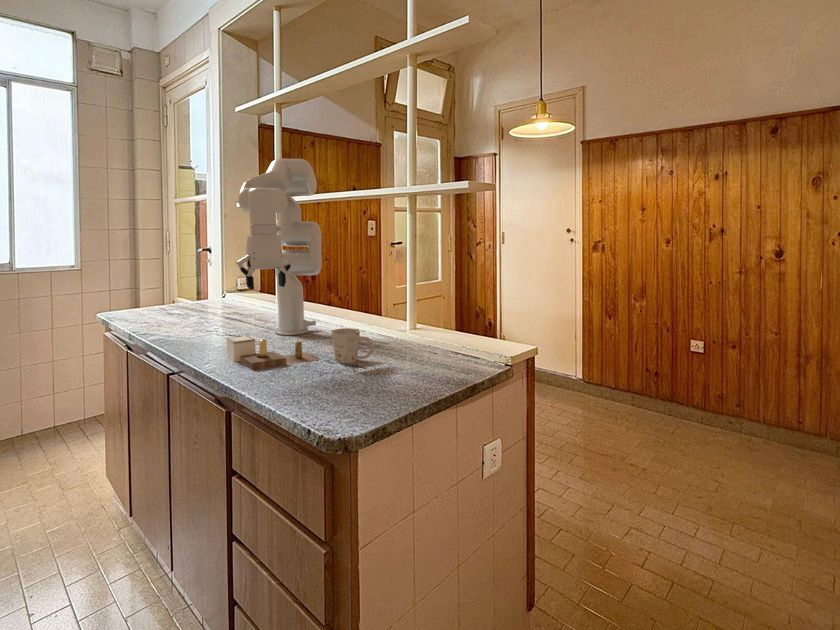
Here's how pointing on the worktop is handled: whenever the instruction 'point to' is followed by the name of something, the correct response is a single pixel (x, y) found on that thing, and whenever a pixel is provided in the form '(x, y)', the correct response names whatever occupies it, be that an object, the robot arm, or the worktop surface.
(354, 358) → the mug
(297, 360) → the tile
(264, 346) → the brass pin
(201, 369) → the worktop surface
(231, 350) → the block
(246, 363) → the socket tile
